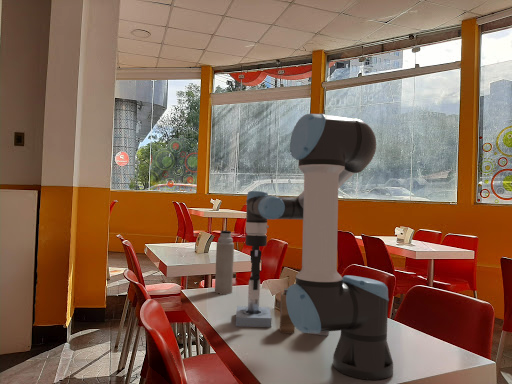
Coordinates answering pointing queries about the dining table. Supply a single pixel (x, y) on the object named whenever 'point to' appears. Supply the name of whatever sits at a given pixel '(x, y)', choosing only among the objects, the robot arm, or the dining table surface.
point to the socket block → (253, 317)
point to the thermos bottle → (224, 263)
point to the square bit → (285, 315)
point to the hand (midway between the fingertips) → (254, 294)
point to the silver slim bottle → (253, 301)
